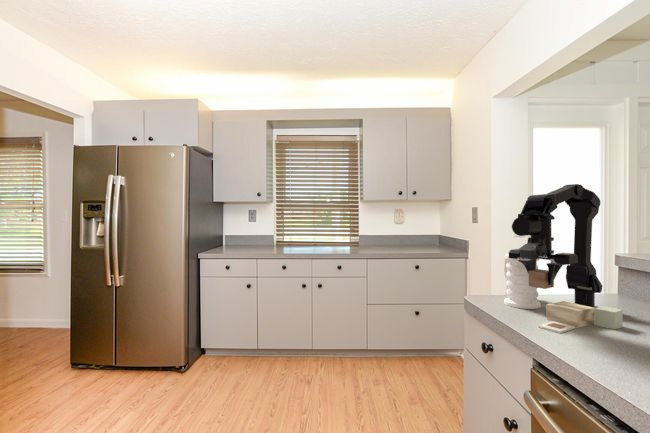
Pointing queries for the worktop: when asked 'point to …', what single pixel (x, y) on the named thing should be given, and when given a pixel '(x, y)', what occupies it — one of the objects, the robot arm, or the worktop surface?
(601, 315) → the sage cube
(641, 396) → the worktop surface
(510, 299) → the decorative container
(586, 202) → the robot arm
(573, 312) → the birch plinth
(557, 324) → the card
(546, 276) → the walnut cube
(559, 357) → the worktop surface
